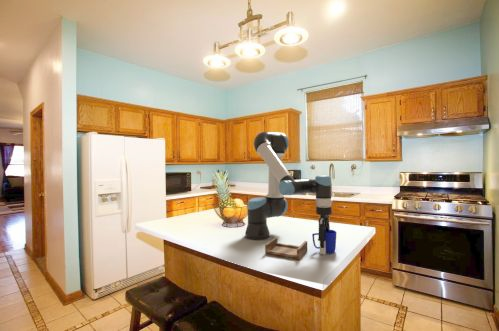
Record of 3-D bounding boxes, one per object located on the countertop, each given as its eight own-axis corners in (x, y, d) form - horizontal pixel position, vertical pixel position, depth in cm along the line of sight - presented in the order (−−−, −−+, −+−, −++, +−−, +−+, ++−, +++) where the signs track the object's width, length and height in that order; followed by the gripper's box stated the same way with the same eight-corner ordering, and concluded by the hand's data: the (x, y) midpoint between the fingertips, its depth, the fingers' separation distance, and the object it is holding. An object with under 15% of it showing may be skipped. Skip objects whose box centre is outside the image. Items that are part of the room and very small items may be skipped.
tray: (265, 254, 123) (265, 244, 123) (275, 246, 135) (275, 237, 135) (299, 260, 115) (299, 249, 115) (307, 251, 127) (307, 241, 127)
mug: (310, 249, 130) (309, 229, 129) (332, 248, 131) (332, 229, 130) (315, 254, 121) (315, 234, 121) (339, 253, 122) (339, 233, 122)
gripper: (327, 210, 115) (328, 259, 115) (335, 203, 134) (336, 245, 134) (310, 209, 118) (312, 256, 118) (320, 202, 137) (321, 243, 137)
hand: (324, 250), depth 126 cm, fingers open, 9 cm apart
